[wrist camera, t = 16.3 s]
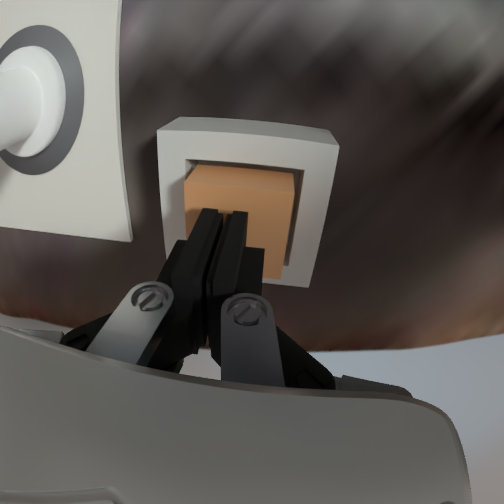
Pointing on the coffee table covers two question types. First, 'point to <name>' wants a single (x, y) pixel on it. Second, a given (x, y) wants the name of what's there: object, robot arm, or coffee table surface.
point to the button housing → (252, 157)
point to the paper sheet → (70, 123)
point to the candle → (30, 100)
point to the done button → (246, 206)
